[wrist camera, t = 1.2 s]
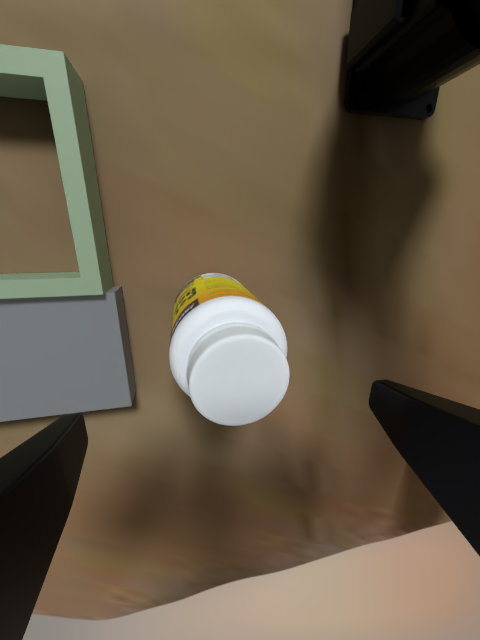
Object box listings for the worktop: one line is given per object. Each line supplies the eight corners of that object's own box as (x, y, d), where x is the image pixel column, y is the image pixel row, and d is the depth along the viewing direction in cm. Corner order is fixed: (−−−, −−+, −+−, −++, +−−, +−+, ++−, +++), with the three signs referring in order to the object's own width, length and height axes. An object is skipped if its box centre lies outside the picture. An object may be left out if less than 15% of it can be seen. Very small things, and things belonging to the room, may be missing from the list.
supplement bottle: (184, 261, 18) (187, 294, 9) (258, 283, 20) (331, 332, 10) (165, 336, 19) (150, 436, 10) (236, 350, 21) (282, 449, 11)
